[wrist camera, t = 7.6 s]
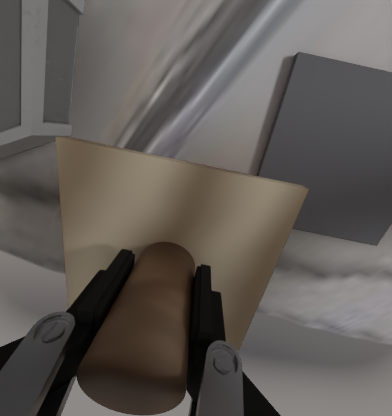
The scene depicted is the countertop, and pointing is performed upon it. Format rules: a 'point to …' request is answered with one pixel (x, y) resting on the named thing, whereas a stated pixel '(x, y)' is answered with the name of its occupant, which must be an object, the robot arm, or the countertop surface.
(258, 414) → the robot arm
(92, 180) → the cover
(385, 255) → the countertop surface
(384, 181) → the mat
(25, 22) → the first aid kit
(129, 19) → the countertop surface
